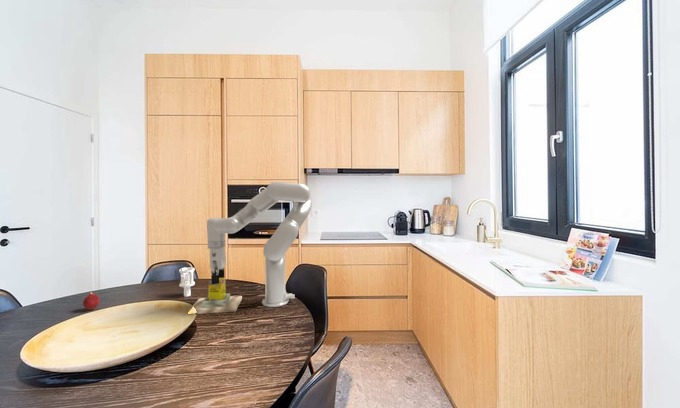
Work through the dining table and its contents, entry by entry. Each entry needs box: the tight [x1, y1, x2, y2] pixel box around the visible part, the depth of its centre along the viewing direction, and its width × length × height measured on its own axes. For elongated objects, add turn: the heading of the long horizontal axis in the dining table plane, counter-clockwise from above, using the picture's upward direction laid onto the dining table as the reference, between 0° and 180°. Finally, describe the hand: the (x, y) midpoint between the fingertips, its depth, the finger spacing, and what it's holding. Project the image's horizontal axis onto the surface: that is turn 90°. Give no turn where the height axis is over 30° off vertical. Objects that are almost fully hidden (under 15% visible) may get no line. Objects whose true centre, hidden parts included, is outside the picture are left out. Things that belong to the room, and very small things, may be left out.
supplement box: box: [208, 277, 226, 301], centre depth 133 cm, size 6×6×11 cm
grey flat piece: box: [192, 293, 243, 315], centre depth 133 cm, size 20×16×4 cm
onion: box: [82, 291, 101, 311], centre depth 129 cm, size 6×6×8 cm
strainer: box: [178, 267, 196, 298], centre depth 147 cm, size 7×7×15 cm
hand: (218, 280), depth 133 cm, fingers open, 9 cm apart
